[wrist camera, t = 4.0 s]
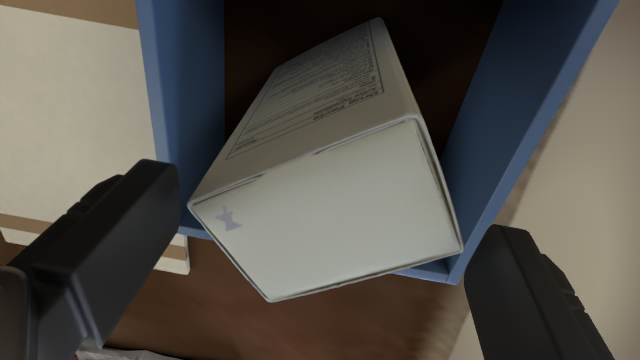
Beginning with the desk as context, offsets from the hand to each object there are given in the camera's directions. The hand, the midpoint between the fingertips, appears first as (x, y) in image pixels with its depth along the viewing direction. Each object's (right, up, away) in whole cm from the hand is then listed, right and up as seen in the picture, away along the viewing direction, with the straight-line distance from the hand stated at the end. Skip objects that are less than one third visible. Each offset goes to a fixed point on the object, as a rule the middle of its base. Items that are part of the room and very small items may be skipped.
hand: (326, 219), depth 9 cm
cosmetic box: (+1, +7, +10) cm, 12 cm away
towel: (-17, +4, +14) cm, 22 cm away
